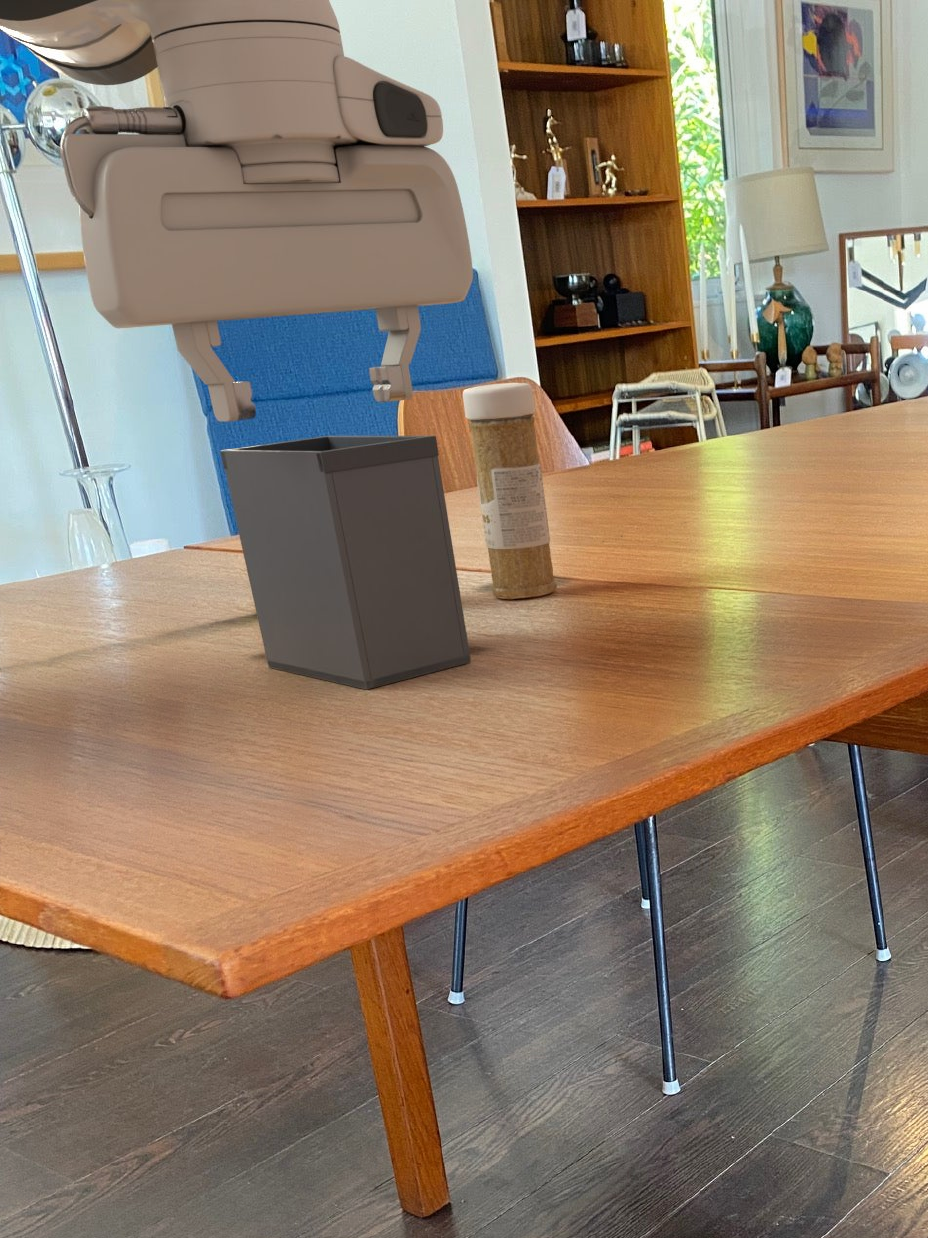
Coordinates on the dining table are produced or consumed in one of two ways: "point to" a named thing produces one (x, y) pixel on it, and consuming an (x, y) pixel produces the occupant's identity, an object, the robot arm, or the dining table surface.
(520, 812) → the dining table surface
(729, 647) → the dining table surface
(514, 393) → the sprinkles bottle
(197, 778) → the dining table surface
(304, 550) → the basket
